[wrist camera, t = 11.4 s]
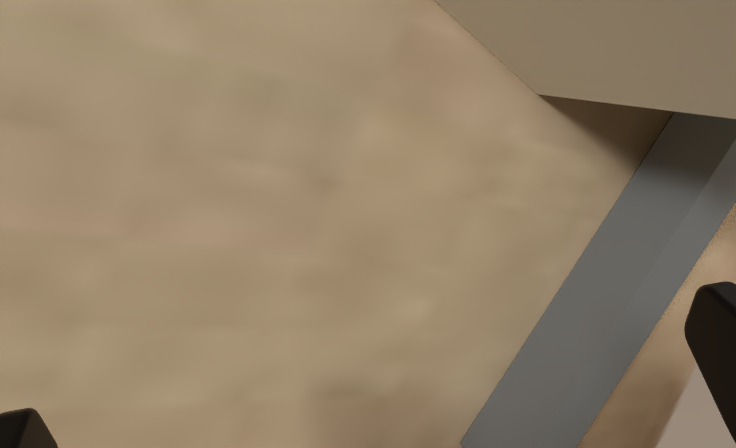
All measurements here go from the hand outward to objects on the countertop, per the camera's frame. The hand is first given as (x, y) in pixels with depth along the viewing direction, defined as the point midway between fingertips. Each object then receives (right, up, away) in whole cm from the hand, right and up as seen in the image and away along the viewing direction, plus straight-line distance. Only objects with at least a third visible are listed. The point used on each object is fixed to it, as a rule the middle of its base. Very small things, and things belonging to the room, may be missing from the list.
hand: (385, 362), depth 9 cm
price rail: (+10, +3, +16) cm, 19 cm away
